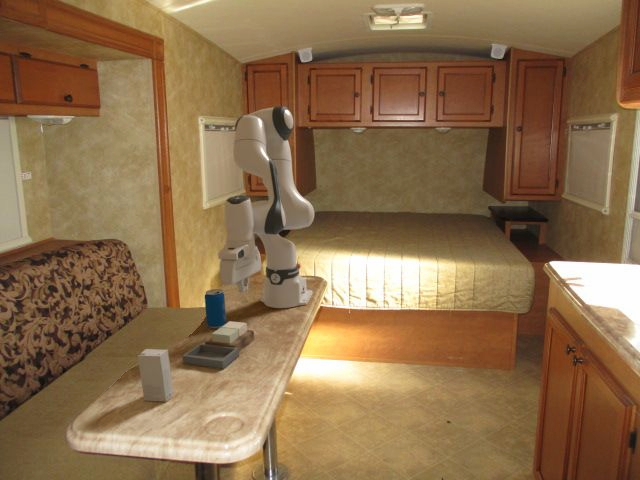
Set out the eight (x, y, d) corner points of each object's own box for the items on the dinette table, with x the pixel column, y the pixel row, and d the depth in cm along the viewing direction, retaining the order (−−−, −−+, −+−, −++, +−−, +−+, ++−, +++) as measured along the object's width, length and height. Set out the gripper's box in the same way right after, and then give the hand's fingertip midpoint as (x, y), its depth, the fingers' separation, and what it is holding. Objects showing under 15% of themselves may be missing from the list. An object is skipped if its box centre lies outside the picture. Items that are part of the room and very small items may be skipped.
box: (200, 351, 155) (200, 343, 155) (239, 356, 151) (238, 348, 150) (183, 363, 147) (182, 355, 146) (223, 369, 142) (222, 361, 142)
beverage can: (222, 329, 172) (219, 294, 169) (203, 328, 173) (200, 294, 170) (229, 322, 178) (226, 289, 175) (211, 321, 179) (208, 288, 177)
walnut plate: (226, 336, 166) (225, 327, 165) (254, 339, 162) (253, 330, 162) (205, 351, 155) (204, 342, 154) (235, 355, 151) (234, 345, 151)
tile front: (221, 335, 159) (220, 327, 158) (238, 337, 157) (238, 329, 156) (212, 341, 154) (211, 333, 154) (230, 343, 152) (229, 335, 152)
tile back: (230, 328, 164) (229, 321, 163) (247, 330, 162) (246, 323, 161) (222, 334, 159) (221, 326, 159) (239, 336, 157) (238, 328, 157)
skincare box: (174, 394, 130) (169, 348, 127) (165, 403, 125) (161, 356, 123) (151, 392, 131) (146, 347, 128) (142, 401, 127) (137, 355, 124)
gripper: (247, 242, 173) (250, 282, 175) (214, 254, 154) (218, 299, 156) (264, 242, 171) (267, 283, 173) (233, 255, 152) (236, 301, 154)
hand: (243, 291), depth 165 cm, fingers closed
